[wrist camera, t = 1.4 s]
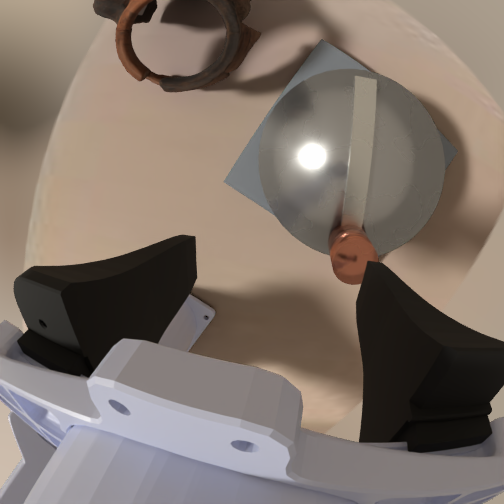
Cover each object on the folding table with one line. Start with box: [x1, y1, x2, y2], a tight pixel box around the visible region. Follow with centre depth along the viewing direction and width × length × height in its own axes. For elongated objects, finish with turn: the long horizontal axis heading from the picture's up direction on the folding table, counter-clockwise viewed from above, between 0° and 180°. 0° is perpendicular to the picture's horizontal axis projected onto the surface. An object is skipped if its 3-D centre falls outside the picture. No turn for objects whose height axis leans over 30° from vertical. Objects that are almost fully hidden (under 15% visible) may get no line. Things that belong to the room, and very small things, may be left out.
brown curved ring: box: [93, 0, 261, 92], centre depth 14 cm, size 12×10×8 cm
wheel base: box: [224, 39, 458, 257], centre depth 18 cm, size 12×12×1 cm
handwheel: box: [258, 69, 445, 285], centre depth 15 cm, size 11×11×6 cm
